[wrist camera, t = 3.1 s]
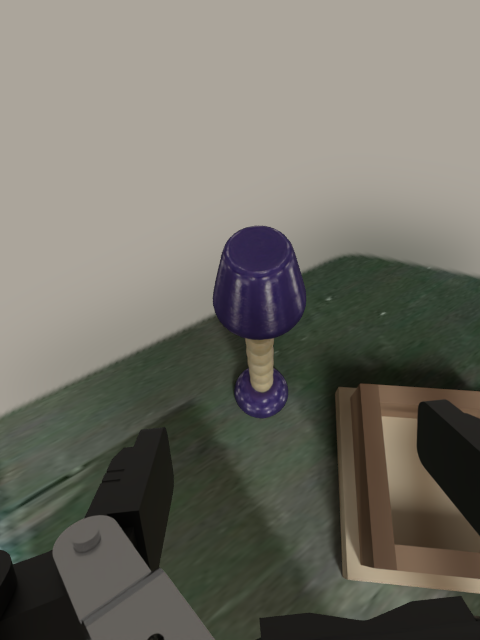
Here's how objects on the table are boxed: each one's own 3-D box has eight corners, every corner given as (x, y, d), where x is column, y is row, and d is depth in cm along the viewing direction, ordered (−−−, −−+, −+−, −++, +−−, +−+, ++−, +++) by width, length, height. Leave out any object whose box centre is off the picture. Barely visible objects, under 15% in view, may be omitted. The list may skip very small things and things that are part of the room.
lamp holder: (494, 404, 29) (532, 383, 25) (544, 598, 23) (604, 610, 19) (335, 393, 30) (347, 371, 26) (342, 577, 24) (359, 584, 20)
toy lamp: (219, 404, 30) (185, 275, 15) (241, 353, 32) (230, 198, 17) (277, 426, 28) (300, 311, 14) (296, 372, 31) (333, 225, 16)
